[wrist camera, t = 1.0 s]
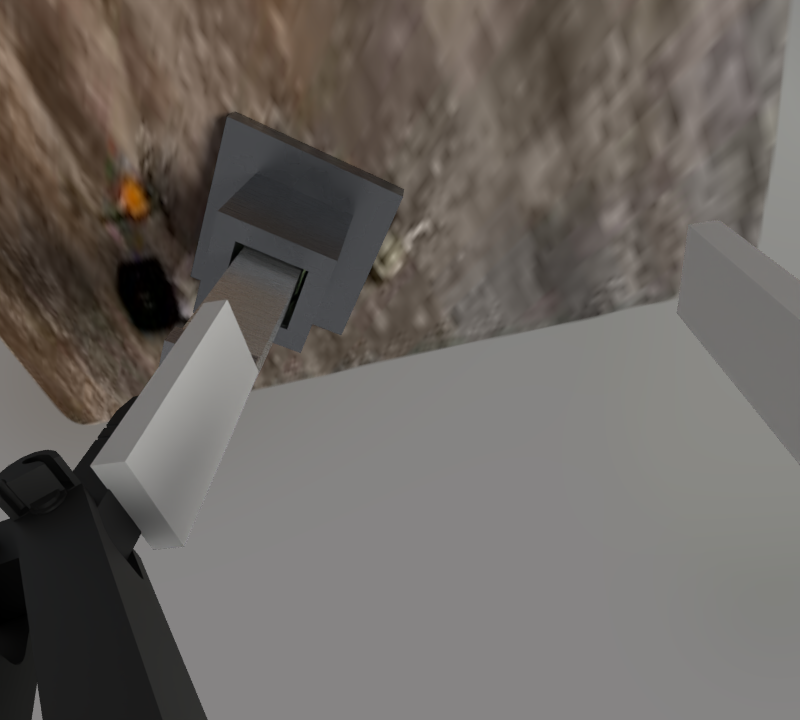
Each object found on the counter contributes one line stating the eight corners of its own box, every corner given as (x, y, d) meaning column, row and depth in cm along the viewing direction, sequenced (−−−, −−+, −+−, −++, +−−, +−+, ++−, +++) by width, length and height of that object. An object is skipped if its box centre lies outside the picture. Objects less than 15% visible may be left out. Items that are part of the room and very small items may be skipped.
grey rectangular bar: (255, 260, 44) (142, 429, 26) (275, 195, 41) (161, 338, 23) (304, 280, 45) (225, 456, 27) (327, 217, 42) (254, 372, 24)
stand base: (198, 266, 47) (144, 329, 38) (235, 111, 39) (178, 143, 30) (344, 324, 50) (325, 395, 40) (403, 189, 42) (397, 239, 33)
